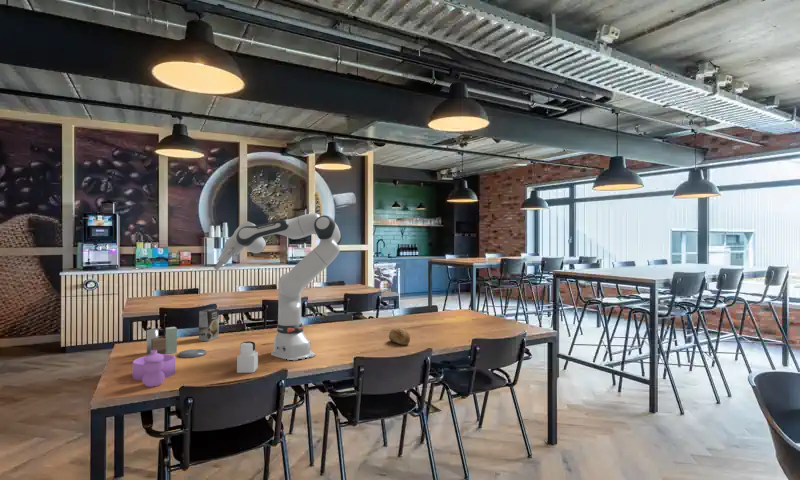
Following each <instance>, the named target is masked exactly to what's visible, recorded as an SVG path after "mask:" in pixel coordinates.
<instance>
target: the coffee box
mask: <svg viewBox="0 0 800 480" xmlns="http://www.w3.org/2000/svg"><path fill="white" fill-rule="evenodd" d="M198 316H199V317H198V341H203V342H209V341H213V340H216V339H219V334H220V332H219V330H220V329H219V328H220V325H219V324H220V320H219V319H220V318H219V317H220V308H208V309H203V310H199V315H198Z"/></svg>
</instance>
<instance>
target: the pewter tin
mask: <svg viewBox="0 0 800 480" xmlns="http://www.w3.org/2000/svg"><path fill="white" fill-rule="evenodd" d="M159 333H160V331H159V328H152V329H147V330H146V354H147V355H149V354H151V339H153V338H160V336H159V335H160V334H159Z"/></svg>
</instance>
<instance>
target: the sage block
mask: <svg viewBox="0 0 800 480" xmlns="http://www.w3.org/2000/svg"><path fill="white" fill-rule="evenodd" d="M177 332H178V328H177V327H176V326H170V327H165V339H166V354H169V355H173V354H177V353H178V349H177V347H178V341H177V339H178V333H177Z"/></svg>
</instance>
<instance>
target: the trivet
mask: <svg viewBox="0 0 800 480" xmlns="http://www.w3.org/2000/svg"><path fill="white" fill-rule="evenodd" d="M206 354H207V349H202V348H201V349H200V348H199V349H198V348H194V349H186V350H183V351H180V352H178V355H177V356H178V357H179V358H182V359H192V358H199V357H203V356H205V355H206Z"/></svg>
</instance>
